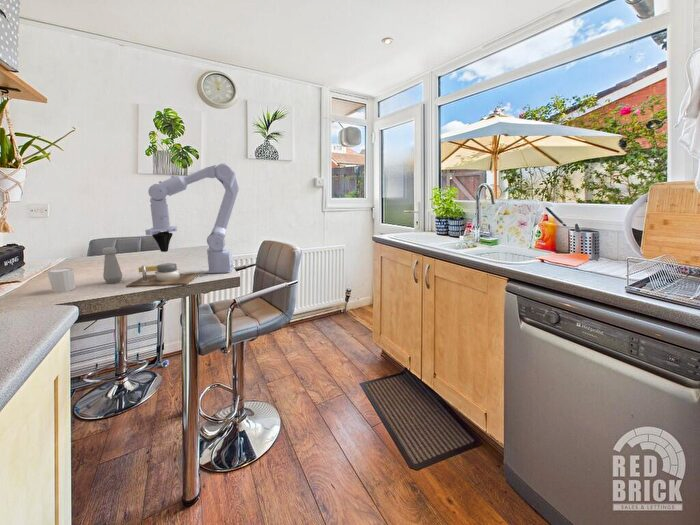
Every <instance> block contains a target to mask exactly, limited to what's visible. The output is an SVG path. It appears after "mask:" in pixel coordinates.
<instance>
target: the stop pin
mask: <svg viewBox="0 0 700 525" xmlns="http://www.w3.org/2000/svg"><path fill="white" fill-rule="evenodd" d="M140 267H142V272H141V274H142V277H143V280H142V281H141V283H147V282H150V280H147V276H146V275H147V272H146V268H145V267H146V265H141V266H140Z"/></svg>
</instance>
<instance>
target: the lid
mask: <svg viewBox="0 0 700 525" xmlns="http://www.w3.org/2000/svg"><path fill="white" fill-rule="evenodd" d="M177 265H178V264H177V263H173V262H171V263H170V262H167V263H162V264H157V265H150V266H145V268H146V273H150V272H156V271H158V272H171V271H175V270H177V269H178V267H177ZM138 273H142V267H141V266H139V267H138Z"/></svg>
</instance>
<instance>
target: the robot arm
mask: <svg viewBox="0 0 700 525" xmlns="http://www.w3.org/2000/svg"><path fill="white" fill-rule="evenodd" d="M208 178H209V179H216V180H218V181H219V182H220V183H221V185H222V187H223V188H224V190H225V191H224V194H223V198H222V201H221V203H220V206H219V207H220V208H219V209H218V213H217V217H216V220H215V221H214V222H215V223H214V226H213V228H212V230H211V233H210V234H209V235H208V236H207V238H206V243H207V245H208V247H209V248H207V250H206V253H207V262H208V263H207V264H208V270H206V272H205V274H220V273H221V274H222V273H223V274H224V273H225V274H226V273H230V272H232V270H233V269H234V264H233V262H234V261H233V252H232V250H228V249H226V248H225V245H226V242H225V238H226V231H227V228H228V224H229V222H230V219H231V215H232V212H233V209H234V206H235V203H236V199H237V196H238V192H239V190H240V189H239V184H238V180H237V177H236V173H235V171H234V170H233V168H232V166H230V165H229V164H228V163H225V162H221V163H220V164H218V165H217V164H215V165H212V166H211V165H210V166H207V167H204V168H201V169H200V170H197V171H195V172H193V173H190V174H188V175H186V176H184V177H183V176H180V175H176V176H175V175H171V176H170V178H167V179H166V180H163V181H162V180H159V181H158V183H154V184H152V185H150V186H149V188H148V195H149V197H150V199H149V201H150V206H149V207H150V212H151V221H152V227H151V228H150V229H145V236H152V239H154V240H155V242H156V243H157V245H158V248H159V250H160V252H161V253H166V252H168V251H169V247H170V242H171V239H172V238H173V235H174V234H173V232H177V231H178V229H177V228H178V227H177V225H176V226H175V225H173V226H172V225H170V224H171V223H170V217H169V215H170V214H169V207H168V206H169V205H168V204H167V198H166V197H167V196H169V197H170V196H173V195H176V194H178V193H180V192H183V191H185V190H187V188H188V186H189V185H190V184H193V183H196V182H199V181H201V180H203V179H208Z"/></svg>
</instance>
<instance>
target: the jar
mask: <svg viewBox="0 0 700 525" xmlns="http://www.w3.org/2000/svg"><path fill="white" fill-rule="evenodd" d="M180 274H181V272H180V269H179V268H177V270H175V271H171V272H158V271H154V275H156V281H172V280H177V279H179V278H180Z"/></svg>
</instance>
